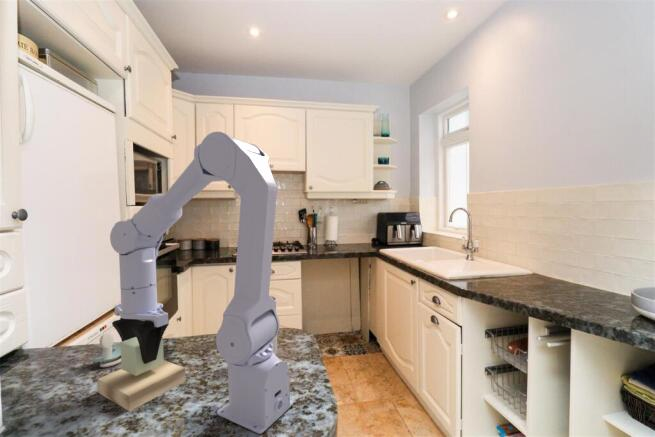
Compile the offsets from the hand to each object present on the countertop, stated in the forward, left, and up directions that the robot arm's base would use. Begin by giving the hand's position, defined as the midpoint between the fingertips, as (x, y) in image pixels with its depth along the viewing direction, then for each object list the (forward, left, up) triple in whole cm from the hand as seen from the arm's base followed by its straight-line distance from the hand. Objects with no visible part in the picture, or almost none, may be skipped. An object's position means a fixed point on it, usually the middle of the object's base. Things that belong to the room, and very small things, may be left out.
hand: (141, 358), depth 56 cm
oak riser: (0, 0, -6) cm, 6 cm away
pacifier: (+17, -2, -6) cm, 18 cm away
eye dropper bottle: (-12, -20, -6) cm, 24 cm away
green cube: (0, 0, -2) cm, 2 cm away
